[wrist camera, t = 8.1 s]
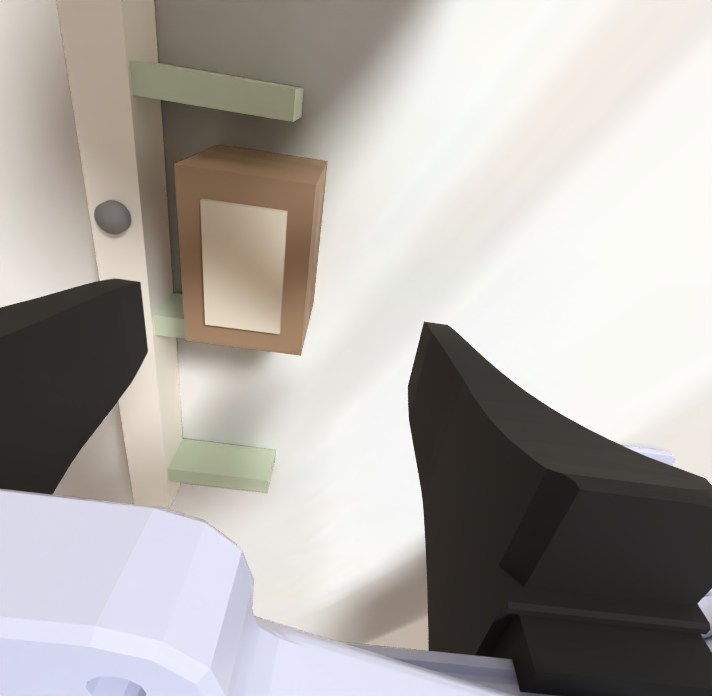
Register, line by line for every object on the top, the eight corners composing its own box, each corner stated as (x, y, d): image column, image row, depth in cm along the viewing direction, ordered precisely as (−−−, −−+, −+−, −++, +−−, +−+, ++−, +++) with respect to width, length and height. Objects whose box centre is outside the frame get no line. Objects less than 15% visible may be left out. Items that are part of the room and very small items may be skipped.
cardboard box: (313, 301, 22) (300, 358, 18) (221, 289, 22) (183, 343, 17) (327, 160, 19) (315, 186, 14) (218, 144, 18) (171, 164, 14)
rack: (272, 484, 28) (263, 525, 26) (152, 470, 28) (131, 509, 25) (308, 24, 16) (298, 14, 14) (96, -14, 16) (43, -32, 13)
